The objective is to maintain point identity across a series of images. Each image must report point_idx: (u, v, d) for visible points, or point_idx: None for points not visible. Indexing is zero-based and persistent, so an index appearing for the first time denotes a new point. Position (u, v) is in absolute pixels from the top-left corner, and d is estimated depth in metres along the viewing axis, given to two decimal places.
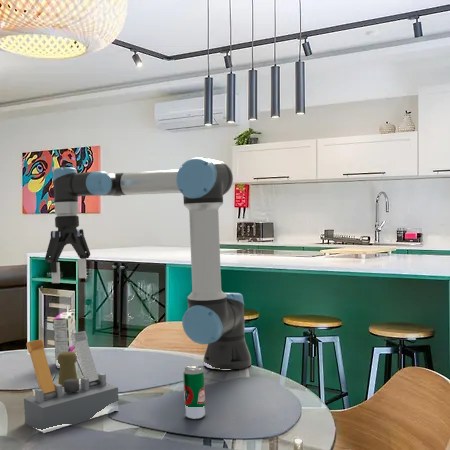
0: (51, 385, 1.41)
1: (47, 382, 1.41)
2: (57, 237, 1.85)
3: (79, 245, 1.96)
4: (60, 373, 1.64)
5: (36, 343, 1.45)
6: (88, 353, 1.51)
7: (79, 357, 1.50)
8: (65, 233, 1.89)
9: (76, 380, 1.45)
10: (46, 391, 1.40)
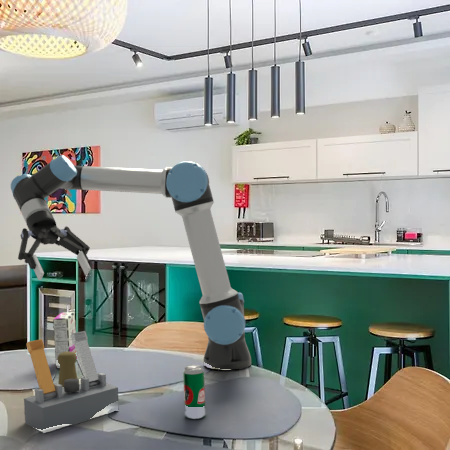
0: (51, 385, 1.41)
1: (47, 382, 1.41)
2: (25, 233, 1.60)
3: (66, 240, 1.66)
4: (60, 373, 1.64)
5: (36, 343, 1.45)
6: (88, 353, 1.51)
7: (79, 357, 1.50)
8: (38, 230, 1.63)
9: (76, 380, 1.45)
10: (46, 391, 1.40)
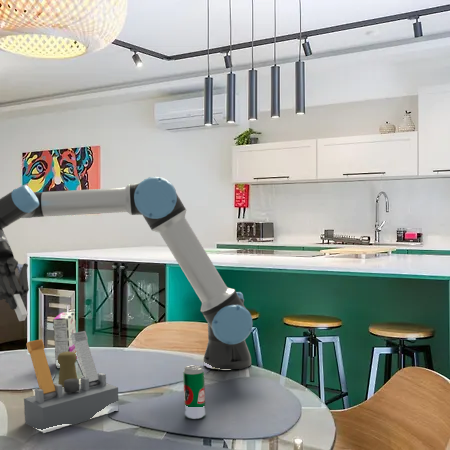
0: (51, 385, 1.41)
1: (47, 382, 1.41)
2: None
3: (14, 277, 1.55)
4: (60, 373, 1.64)
5: (36, 343, 1.45)
6: (88, 353, 1.51)
7: (79, 357, 1.50)
8: None
9: (76, 380, 1.45)
10: (46, 391, 1.40)
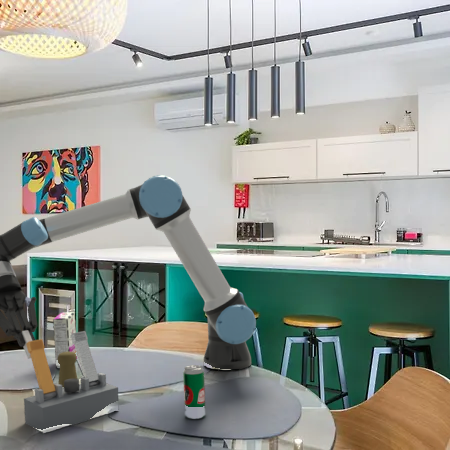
0: (51, 385, 1.41)
1: (47, 382, 1.41)
2: None
3: (22, 312, 1.52)
4: (60, 373, 1.64)
5: (36, 343, 1.45)
6: (88, 353, 1.51)
7: (79, 357, 1.50)
8: (0, 296, 1.52)
9: (76, 380, 1.45)
10: (46, 391, 1.40)
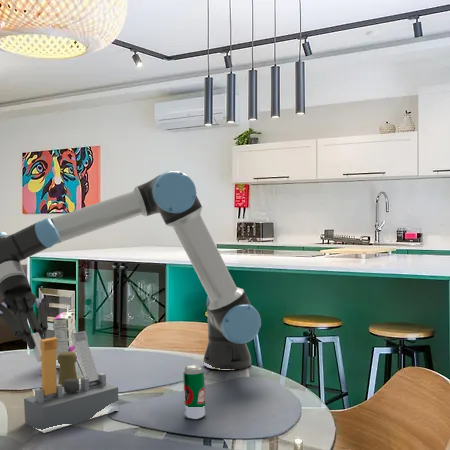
0: (53, 386, 1.40)
1: (50, 384, 1.40)
2: (4, 309, 1.44)
3: (32, 313, 1.47)
4: (60, 373, 1.64)
5: (50, 343, 1.39)
6: (88, 353, 1.51)
7: (79, 357, 1.50)
8: (10, 297, 1.47)
9: (76, 380, 1.45)
10: (47, 393, 1.39)
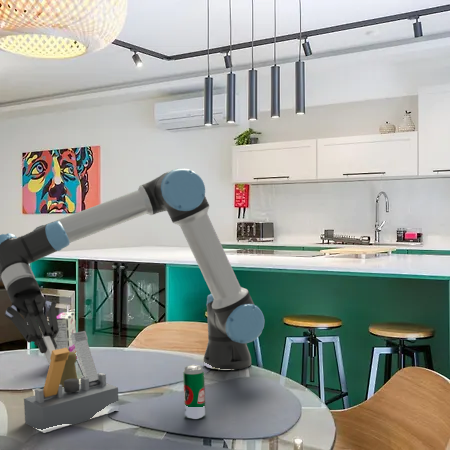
0: (55, 390, 1.40)
1: (53, 388, 1.39)
2: (14, 312, 1.41)
3: (42, 316, 1.44)
4: None
5: (62, 355, 1.35)
6: (88, 353, 1.51)
7: (79, 357, 1.50)
8: (19, 300, 1.44)
9: (76, 380, 1.45)
10: (48, 395, 1.39)
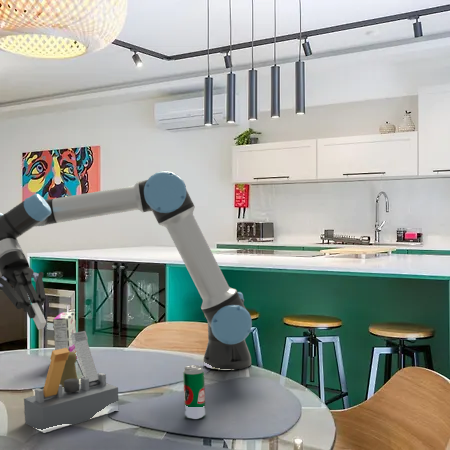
0: (55, 390, 1.40)
1: (53, 388, 1.39)
2: (4, 282, 1.53)
3: (30, 286, 1.57)
4: None
5: (62, 355, 1.35)
6: (88, 353, 1.51)
7: (79, 357, 1.50)
8: (9, 271, 1.57)
9: (76, 380, 1.45)
10: (48, 395, 1.39)
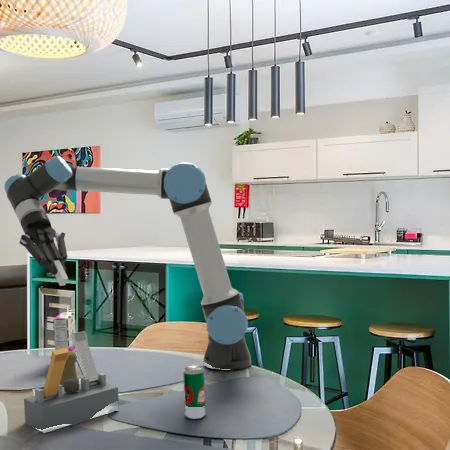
0: (55, 390, 1.40)
1: (53, 388, 1.39)
2: (28, 240, 1.58)
3: (53, 244, 1.61)
4: None
5: (62, 355, 1.35)
6: (88, 353, 1.51)
7: (79, 357, 1.50)
8: (32, 230, 1.61)
9: (76, 380, 1.45)
10: (48, 395, 1.39)
